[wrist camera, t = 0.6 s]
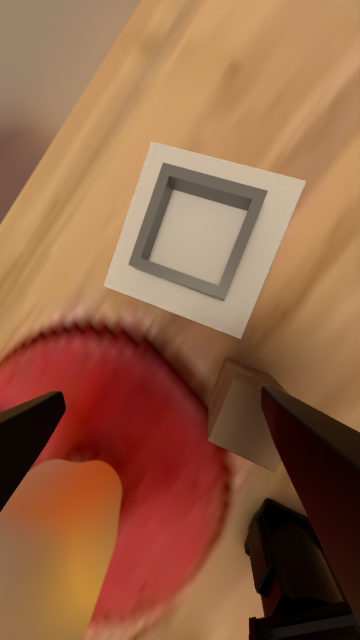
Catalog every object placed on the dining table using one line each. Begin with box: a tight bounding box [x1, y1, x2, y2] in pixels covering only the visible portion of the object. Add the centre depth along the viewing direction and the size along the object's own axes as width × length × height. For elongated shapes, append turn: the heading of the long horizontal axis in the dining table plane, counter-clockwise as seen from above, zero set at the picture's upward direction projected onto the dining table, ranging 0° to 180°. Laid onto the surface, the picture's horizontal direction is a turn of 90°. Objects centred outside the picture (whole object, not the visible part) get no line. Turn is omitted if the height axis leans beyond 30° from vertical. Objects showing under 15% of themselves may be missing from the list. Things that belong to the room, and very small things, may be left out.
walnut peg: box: [208, 358, 288, 473], centre depth 17 cm, size 5×5×7 cm
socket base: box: [104, 142, 306, 339], centre depth 19 cm, size 16×16×3 cm
